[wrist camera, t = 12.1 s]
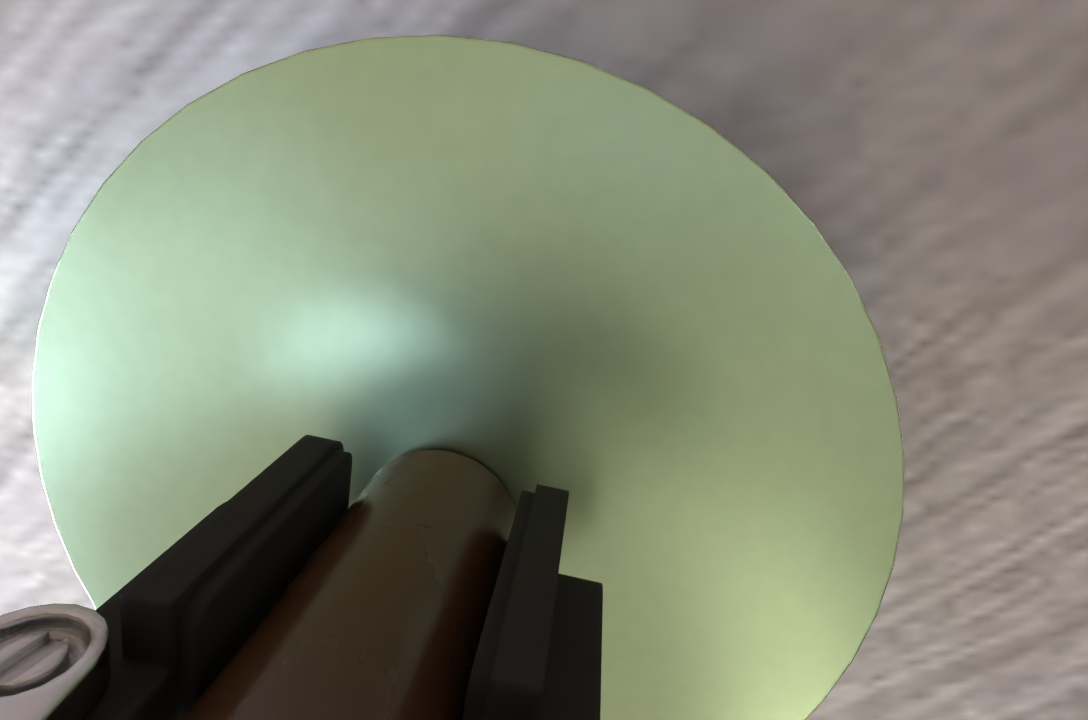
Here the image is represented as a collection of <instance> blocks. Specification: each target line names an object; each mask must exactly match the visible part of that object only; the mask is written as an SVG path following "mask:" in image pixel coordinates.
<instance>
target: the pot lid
mask: <svg viewBox="0 0 1088 720" xmlns="http://www.w3.org/2000/svg"><path fill="white" fill-rule="evenodd" d="M32 395H33V430H34V436H35V443H36V449H37V455H38V461H39V468H40V474H41V479H42V483H43V486H44V489H45V493H46V496H47V500H48V503H49V507H50V510H51V513H52V517H53V520H54V524H55V526H56V529H57V531H58V533H59V536H60V538H61V541H62V543H63V545H64V548H65V550H66V552H67V555H68V557H69V559H70V562H71V564H72V566H73V569H74V571H75V572H76V574H77V576H78V578H79V579H80V581H81V583H82V585H83V587H84V588H85V590H86V592H87V594H88V595H89V597H90V599H91V601H92V602H93V604H94V606H95V608H96V609H98V608H99V607H100V606H101V605H102V604H103V603H105V602H106V601H107V600H108V599H109V598H111V597H112V596H113V595H114V594H115V593H116V592H118V591H119V590H120V589H121V588H122V587H124V586H125V585H126V584H127V583H128V582H129V581H131V580H132V579H133V578H134V577H135V576H137V575H138V574H139V573H140V572H141V571H142V570H144V569H145V568H146V567H147V566H148V565H150V564H151V563H152V562H153V561H154V560H155V559H157V558H158V557H159V556H160V555H161V554H162V553H164V552H165V551H166V550H167V549H168V548H170V547H171V546H172V545H173V544H174V543H175V542H177V541H178V540H179V539H180V538H181V537H183V536H184V535H185V534H186V533H187V532H188V531H190V530H191V529H192V528H193V527H194V526H196V525H197V524H198V523H199V522H200V521H201V520H203V519H204V518H205V517H206V516H207V515H209V514H210V513H211V512H212V511H213V510H214V509H216V508H217V507H218V506H220V505H221V504H223V503H224V502H227V501H228V500H230V499H231V498H232V497H233V496H234V495H235V494H237V493H238V492H239V491H240V490H241V489H242V488H244V487H245V486H246V485H247V484H248V483H249V482H251V481H252V480H253V479H254V478H255V477H256V476H258V475H259V474H260V473H261V472H262V471H263V470H265V469H266V468H267V467H268V466H269V465H270V464H272V463H273V462H274V461H275V460H276V459H278V458H279V457H280V456H281V455H282V454H283V453H285V452H286V451H287V450H288V449H289V448H290V447H292V446H293V445H294V444H295V443H296V442H297V441H299V440H300V439H301V438H302V437H303V436H305V435H312V436H317V437H322V438H326V439H331V440H336V441H340V442H341V443H342V444H343V448H344V451H345V452H350V453H351V454H352V472H351V483H350V494H349V505H348V510H347V511H346V512H345V514H344V515H343V516H342V517H341V519H340V520H339V521H338V522H337V524H336V525H335V526H334V528H333V529H332V530H331V531H330V533H329V534H328V535H327V537H326V538H325V539H324V540H323V542H322V543H321V544H320V545H319V547H318V548H317V549H316V551H315V552H314V553H313V554H312V556H311V557H310V558H309V560H308V561H307V562H306V563H305V565H304V566H303V567H302V568H301V570H300V571H299V572H298V574H297V575H296V576H295V577H294V579H293V580H292V581H291V583H290V584H289V585H288V586H287V588H286V589H285V590H284V591H283V593H282V594H281V595H280V597H279V598H278V599H277V600H276V602H275V603H274V604H273V605H272V607H271V608H270V609H269V611H268V612H267V613H266V614H265V616H264V617H263V618H262V620H261V621H260V622H259V623H258V625H257V626H256V627H255V628H254V630H253V631H252V632H251V634H250V635H249V636H248V637H247V639H246V640H245V641H244V643H243V644H242V645H241V646H240V648H239V649H238V650H237V651H236V653H235V654H234V655H233V657H232V658H231V659H230V660H229V662H228V663H227V664H226V665H225V667H224V668H223V669H222V671H221V672H220V673H219V674H218V676H217V677H216V678H215V680H214V681H213V682H212V683H211V685H210V686H209V687H208V688H207V690H206V691H205V692H204V694H203V695H202V696H201V697H200V699H199V700H198V701H197V703H196V704H195V705H194V706H193V708H192V709H191V710H190V711H189V713H188V714H187V715H186V717H185V718H184V719H183V720H462V715H463V710H464V704H465V699H466V694H467V689H468V684H469V679H470V675H471V671H472V667H473V663H474V659H475V655H476V651H477V648H478V644H479V641H480V637H481V634H482V630H483V627H484V623H485V619H486V616H487V612H488V609H489V605H490V602H491V598H492V595H493V591H494V588H495V584H496V581H497V577H498V574H499V570H500V566H501V563H502V559H503V556H504V552H505V549H506V545H507V542H508V538H509V535H510V531H511V528H512V524H513V521H514V517H515V514H516V510H517V506H518V503H519V499H520V496H521V492H522V490H525V491H529V492H534V493H535V490H536V486H537V484H539V485H544V486H548V487H553V488H558V489H562V490H567V491H569V497H568V505H567V512H566V520H565V527H564V535H563V542H562V550H561V557H560V565H559V572H558V573H559V574H563V575H568V576H572V577H577V578H581V579H586V580H590V581H595V582H599V583H602V585H603V614H602V662H601V709H600V720H805V719H806V718H807V717H808V716H809V715H810V714H811V713H812V712H813V711H814V710H815V709H816V708H817V706H818V705H819V704H820V703H821V702H822V701H823V700H824V699H825V698H826V696H827V695H828V694H829V692H830V691H831V689H832V688H833V687H834V685H835V684H836V683H837V681H838V680H839V678H840V677H841V676H842V674H843V673H844V672H845V670H846V669H847V667H848V666H849V665H850V663H851V662H852V661H853V659H854V657H855V655H856V653H857V651H858V649H859V648H860V646H861V644H862V642H863V640H864V638H865V636H866V634H867V632H868V630H869V629H870V627H871V625H872V623H873V621H874V619H875V617H876V615H877V612H878V609H879V607H880V604H881V601H882V598H883V595H884V592H885V589H886V586H887V583H888V581H889V578H890V575H891V572H892V569H893V566H894V561H895V555H896V550H897V544H898V539H899V533H900V528H901V522H902V516H903V500H904V448H903V441H902V433H901V426H900V418H899V411H898V403H897V396H896V393H895V390H894V386H893V383H892V379H891V376H890V373H889V369H888V366H887V363H886V359H885V356H884V352H883V349H882V346H881V342H880V339H879V336H878V334H877V332H876V330H875V328H874V326H873V324H872V322H871V319H870V317H869V315H868V313H867V311H866V309H865V307H864V305H863V302H862V300H861V298H860V296H859V294H858V292H857V290H856V288H855V286H854V283H853V281H852V279H851V278H850V276H849V275H848V273H847V272H846V270H845V269H844V267H843V266H842V264H841V263H840V261H839V260H838V258H837V257H836V255H835V254H834V252H833V251H832V249H831V248H830V246H829V245H828V244H827V242H826V241H825V239H824V238H823V236H822V235H821V233H820V232H819V230H818V229H817V227H816V226H815V224H814V223H813V222H812V221H811V220H810V218H809V217H808V216H807V215H806V214H805V213H804V212H803V211H802V210H801V209H800V208H799V206H798V205H797V204H796V203H795V202H794V201H793V200H792V199H791V198H790V197H789V195H788V194H787V193H786V192H785V191H784V190H783V189H782V188H781V187H780V186H779V185H778V183H777V182H776V181H775V180H774V179H773V178H772V177H771V176H770V175H769V174H768V172H766V171H765V170H764V169H763V168H762V167H760V166H759V165H758V164H757V163H755V162H754V161H753V160H752V159H751V158H749V157H748V156H747V155H746V154H744V153H743V152H742V151H741V150H740V149H738V148H737V147H736V146H735V145H733V144H732V143H731V142H730V141H729V140H727V139H726V138H725V137H724V136H722V135H721V134H720V133H719V132H718V131H716V130H715V129H714V128H713V127H711V126H710V125H708V124H706V123H705V122H703V121H701V120H700V119H698V118H696V117H695V116H693V115H691V114H690V113H688V112H686V111H685V110H683V109H681V108H680V107H678V106H676V105H675V104H673V103H671V102H670V101H668V100H666V99H665V98H663V97H661V96H660V95H658V94H656V93H655V92H653V91H651V90H650V89H648V88H645V87H643V86H641V85H638V84H636V83H633V82H631V81H629V80H626V79H624V78H621V77H619V76H617V75H614V74H612V73H610V72H607V71H605V70H602V69H600V68H598V67H595V66H593V65H590V64H588V63H586V62H583V61H580V60H577V59H573V58H569V57H565V56H561V55H557V54H553V53H549V52H546V51H542V50H538V49H534V48H530V47H526V46H522V45H518V44H515V43H510V42H501V41H491V40H482V39H472V38H463V37H454V36H444V35H429V36H406V37H382V38H368V39H363V40H358V41H353V42H348V43H342V44H337V45H332V46H327V47H322V48H317V49H312V50H307V51H303V52H300V53H297V54H295V55H292V56H289V57H287V58H284V59H281V60H278V61H276V62H273V63H270V64H267V65H265V66H262V67H259V68H256V69H254V70H251V71H248V72H246V73H243V74H241V75H239V76H238V77H236V78H234V79H232V80H230V81H229V82H227V83H225V84H223V85H221V86H220V87H218V88H216V89H214V90H213V91H211V92H209V93H207V94H205V95H204V96H202V97H200V98H198V99H196V100H195V101H193V102H191V103H189V104H188V105H187V106H185V107H184V108H183V109H182V110H180V111H179V112H178V113H176V114H175V115H174V116H173V117H171V118H170V119H169V120H168V121H166V122H165V123H164V124H163V125H161V126H160V127H159V128H158V129H156V130H155V131H154V132H153V133H151V134H150V135H149V136H148V137H146V138H145V139H144V140H143V141H141V142H140V143H139V145H138V146H137V147H136V148H135V149H134V150H133V151H132V152H131V153H130V154H129V156H128V157H127V158H126V159H125V160H124V161H123V162H122V163H121V164H120V166H119V167H118V168H117V169H116V170H115V171H114V172H113V173H112V174H111V175H110V177H109V178H108V179H107V180H106V181H105V182H104V183H103V184H102V186H101V188H100V189H99V191H98V192H97V194H96V195H95V197H94V198H93V200H92V201H91V203H90V204H89V206H88V208H87V209H86V211H85V212H84V214H83V215H82V217H81V218H80V220H79V221H78V223H77V225H76V226H75V228H74V229H73V231H72V233H71V236H70V238H69V240H68V242H67V245H66V247H65V249H64V251H63V254H62V256H61V258H60V260H59V263H58V265H57V267H56V270H55V272H54V274H53V276H52V279H51V282H50V286H49V290H48V293H47V297H46V301H45V304H44V308H43V312H42V316H41V319H40V323H39V327H38V333H37V341H36V350H35V359H34V367H33V376H32Z"/></svg>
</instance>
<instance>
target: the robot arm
mask: <svg viewBox="0 0 1088 720" xmlns="http://www.w3.org/2000/svg"><path fill="white" fill-rule="evenodd" d="M351 472H352V454H351V453H350V452H345V451H344V448H343V444H342V443H341V442H340V441H336V440H331V439H326V438H322V437H317V436H312V435H305V436H303V437H302V438H301V439H300V440H299V441H297V442H296V443H295V444H294V445H293V446H292V447H290V448H289V449H288V450H287V451H286V452H285V453H283V454H282V455H281V456H280V457H279V458H278V459H276V460H275V461H274V462H273V463H272V464H270V465H269V466H268V467H267V468H266V469H265V470H263V471H262V472H261V473H260V474H259V475H258V476H256V477H255V478H254V479H253V480H252V481H251V482H249V483H248V484H247V485H246V486H245V487H244V488H242V489H241V490H240V491H239V492H238V493H237V494H235V495H234V496H233V497H232V498H231V499H230V500H228V501H227V502H224V503H223V504H221V505H220V506H218V507H217V508H216V509H214V510H213V511H212V512H211V513H210V514H209V515H207V516H206V517H205V518H204V519H203V520H201V521H200V522H199V523H198V524H197V525H196V526H194V527H193V528H192V529H191V530H190V531H188V532H187V533H186V534H185V535H184V536H183V537H181V538H180V539H179V540H178V541H177V542H175V543H174V544H173V545H172V546H171V547H170V548H168V549H167V550H166V551H165V552H164V553H162V554H161V555H160V556H159V557H158V558H157V559H155V560H154V561H153V562H152V563H151V564H150V565H148V566H147V567H146V568H145V569H144V570H142V571H141V572H140V573H139V574H138V575H137V576H135V577H134V578H133V579H132V580H131V581H129V582H128V583H127V584H126V585H125V586H124V587H122V588H121V589H120V590H119V591H118V592H116V593H115V594H114V595H113V596H112V597H111V598H109V599H108V600H107V601H106V602H105V603H103V604H102V605H101V606H100V607H99V608H98V609H96V610H95V611H94V610H93V609H89V608H86V607H83V606H80V605H76V604H47V605H40V606H33V607H28V608H24V609H21V610H17V611H14V612H10V613H7V614H4V615H1V616H0V720H183V719H184V718H185V717H186V715H187V714H188V713H189V711H190V710H191V709H192V708H193V706H194V705H195V704H196V703H197V701H198V700H199V699H200V697H201V696H202V695H203V694H204V692H205V691H206V690H207V688H208V687H209V686H210V685H211V683H212V682H213V681H214V680H215V678H216V677H217V676H218V674H219V673H220V672H221V671H222V669H223V668H224V667H225V665H226V664H227V663H228V662H229V660H230V659H231V658H232V657H233V655H234V654H235V653H236V651H237V650H238V649H239V648H240V646H241V645H242V644H243V643H244V641H245V640H246V639H247V637H248V636H249V635H250V634H251V632H252V631H253V630H254V628H255V627H256V626H257V625H258V623H259V622H260V621H261V620H262V618H263V617H264V616H265V614H266V613H267V612H268V611H269V609H270V608H271V607H272V605H273V604H274V603H275V602H276V600H277V599H278V598H279V597H280V595H281V594H282V593H283V591H284V590H285V589H286V588H287V586H288V585H289V584H290V583H291V581H292V580H293V579H294V577H295V576H296V575H297V574H298V572H299V571H300V570H301V568H302V567H303V566H304V565H305V563H306V562H307V561H308V560H309V558H310V557H311V556H312V554H313V553H314V552H315V551H316V549H317V548H318V547H319V545H320V544H321V543H322V542H323V540H324V539H325V538H326V537H327V535H328V534H329V533H330V531H331V530H332V529H333V528H334V526H335V525H336V524H337V522H338V521H339V520H340V519H341V517H342V516H343V515H344V514H345V512H346V511H347V510H348V505H349V494H350V483H351ZM568 497H569V491H567V490H562V489H558V488H553V487H548V486H544V485H539V484H537V486H536V490H535V493H534V492H529V491H525V490H522V492H521V496H520V499H519V503H518V506H517V510H516V514H515V517H514V521H513V524H512V528H511V531H510V535H509V538H508V542H507V545H506V549H505V552H504V556H503V559H502V563H501V566H500V570H499V574H498V577H497V581H496V584H495V588H494V591H493V595H492V598H491V602H490V605H489V609H488V612H487V616H486V619H485V623H484V627H483V630H482V634H481V637H480V641H479V644H478V648H477V651H476V655H475V659H474V663H473V667H472V671H471V675H470V679H469V684H468V689H467V694H466V699H465V704H464V710H463V715H462V720H600V709H601V662H602V614H603V585H602V583H599V582H595V581H590V580H586V579H581V578H577V577H572V576H568V575H563V574H559V573H558V572H559V565H560V557H561V550H562V542H563V535H564V527H565V520H566V512H567V505H568Z"/></svg>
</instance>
